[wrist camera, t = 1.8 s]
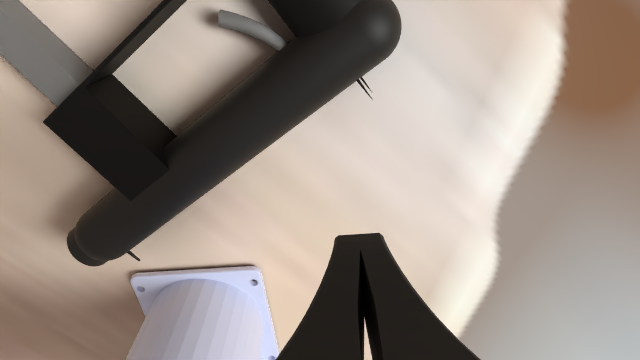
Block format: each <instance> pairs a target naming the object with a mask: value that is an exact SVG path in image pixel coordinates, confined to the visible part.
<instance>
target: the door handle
mask: <svg viewBox="0 0 640 360" xmlns="http://www.w3.org/2000/svg"><path fill="white" fill-rule="evenodd" d="M186 1H187V0H163V1H162V2H161V3H160V4H159V5H158V6H157V7H156V8H155V9H154V10H153V12H152V13H151V14H150V15H149V16H148V17H147V18H146V19H145V20H144V21H143V22H142V23H141V24H140V25H139V26H138V27H137V28H136V29H135V30H134V31H133V32H132V33H131V34H130V35H129V36H128V37H127V38H126V39H125V40H124V41H123V42H122V43H121V44H120V45H119V46H118V47H117V48H116V49H115V50H114V51H113V52H112V53H111V54H110V55H109V56H108V57H107V58H106V59H105V60H104V61H103V62H102V63H101V64H100V65H99V66H98V67H97V68H96V69H95V70H94V71H93V70H92V69H91V68H90V67H89V66H88V65H87V64H86V63H85V62H84V61H83V60H82V59H81V58H79V57H78V56H77V55H76V54H75V53H74V52H73V51H72V50H71V49H70V48H69V47H68V46H67V45H66V44H65V43H64V42H62V41H61V40H60V39H59V38H58V37H57V36H56V35H55V34H54V33H53V32H52V31H51V30H50V29H49V28H48V27H47V26H46V25H44V24H43V23H42V22H41V21H40V20H39V19H38V18H37V17H36V16H35V15H34V14H33V13H32V12H31V11H30V10H29V9H28V8H26V7H25V6H24V5H23V4H22V3H21V2H20V1H19V0H0V55H1V56H3V57H4V58H5V59H6V60H7V61H8V62H9V63H10V64H11V65H12V66H13V67H14V68H15V69H17V70H18V71H19V72H20V73H21V74H22V75H23V76H24V77H25V78H26V79H27V80H28V81H29V82H31V83H32V84H33V85H34V86H35V87H36V88H37V89H38V90H39V91H40V92H41V93H42V94H43V95H45V96H46V97H47V98H48V99H49V100H50V101H51V102H52V103H53V104H54V105H55V106H56V107H57V108H56V109H55V110H54V111H53V112H52V113H51V114H50V115H49V116H48V117H47V118H46V119H45V120H44V121H43V123H44V124H46V125H47V126H48V127H49V128H50V129H51V130H52V131H53V132H54V133H55V134H57V135H58V136H59V137H60V138H61V139H62V140H63V141H64V142H65V143H67V144H68V145H69V146H70V147H71V148H72V149H73V150H74V151H75V152H77V153H78V154H79V155H80V156H81V157H82V158H83V159H84V160H85V161H87V162H88V163H89V164H90V165H91V166H92V167H93V168H94V169H95V170H97V171H98V172H99V173H100V174H101V175H102V176H103V177H104V178H105V179H107V180H108V181H109V182H110V183H111V184H112V185H113V186H114V187H115V189H113V190H112V191H111V192H110V193H109V194H108V195H106V196H105V197H104V198H103V199H102V200H100V201H99V202H98V203H97V204H96V205H94V206H93V207H92V208H91V209H90V210H88V211H87V212H86V213H85V214H84V215H83V216H82V217H81V218H80V219H79V221H78V223H77V225H76V227H75V228H74V229H72V230H71V231H70V233H69V234H68V237H67V245H68V249H69V251H70V253H71V254H72V255H73V257H74V258H75V259H77V260H78V261H79V262H81V263H83V264H85V265H88V266H100V265H103V264H104V263H106V262H107V261H109V260H113V259H116V258H119V257H121V256H122V255H124V254H125V253H128V254H130V255H131V256H132V257H134V258H135V259H137V260H138V261H140V259H139V258H138V257H137V256H135V255H134V254H133V253H132V252H131V251H130V250H131V249H132V248H133V247H135V246H136V245H137V244H139V243H140V242H141V241H143V240H144V239H145V238H147V237H148V236H149V235H151V234H152V233H153V232H155V231H156V230H157V229H159V228H160V227H161V226H163V225H164V224H165V223H167V222H168V221H169V220H171V219H172V218H173V217H175V216H176V215H177V214H179V213H180V212H181V211H183V210H184V209H185V208H187V207H188V206H189V205H191V204H192V203H193V202H195V201H196V200H197V199H199V198H200V197H201V196H203V195H204V194H205V193H207V192H208V191H209V190H211V189H212V188H213V187H215V186H216V185H217V184H219V183H220V182H222V181H223V180H224V179H226V178H227V177H228V176H230V175H231V174H232V173H234V172H235V171H236V170H238V169H239V168H240V167H242V166H243V165H244V164H246V163H247V162H248V161H250V160H251V159H252V158H254V157H255V156H256V155H258V154H259V153H260V152H262V151H263V150H264V149H266V148H267V147H268V146H270V145H271V144H272V143H274V142H275V141H276V140H278V139H279V138H280V137H282V136H283V135H284V134H286V133H287V132H288V131H290V130H291V129H292V128H294V127H295V126H296V125H298V124H299V123H300V122H302V121H303V120H304V119H306V118H307V117H308V116H310V115H311V114H312V113H314V112H315V111H316V110H318V109H319V108H320V107H322V106H323V105H324V104H326V103H327V102H329V101H330V100H331V99H333V98H334V97H335V96H337V95H338V94H339V93H341V92H342V91H343V90H345V89H346V88H347V87H349V86H350V85H351V84H353V83H354V82H355V81H357V82H358V83H359V84H360V86H361V87H362V88H363V89H364V90H365V92H366V93H367V94H368V92H367V91H366V89H365V88H364V86H363V85H362V83H361V82H360V80H359V78H360V79H361V80H362V81H363V82H364V83H365V85H366V86H367V87H368V85H367V84H366V82H365V81H364V79H363V78H362V76H363V75H365V74H366V73H367V72H369V71H370V70H371V69H373V68H374V67H375V66H377V65H378V64H379V63H381V62H382V61H383V60H385V59H386V58H387V57H388V56H389V55H390V54H391V53H392V52H393V51H394V49H395V48H396V46H397V44H398V41H399V39H400V35H401V18H400V14H399V11H398V9H397V7H396V5H395V4H394V3H393V1H392V0H268V1H269V3H270V4H271V5H272V6H273V8H274V9H275V10H276V12H277V13H278V14H279V16H280V17H281V18H282V19H283V21H284V22H285V23H286V25H287V26H288V27H289V28H290V30H291V31H292V32H293V34H294V35H295V36H296V37H295V38H294V39H292V40H291V41H290V42H289V43H287V42H286V41H285V40H284V39H283V38H282V37H280V36H279V35H278V34H277V33H275V32H274V31H272V30H271V29H269V28H268V27H266V26H264V25H262V24H261V23H259V22H257V21H254V20H252V19H250V18H247V17H245V16H242V15H239V14H236V13H232V12H228V11H224V10H220V12H219V16H218V25H219V27H224V28H228V29H232V30H236V31H239V32H242V33H245V34H247V35H250V36H252V37H255V38H257V39H259V40H261V41H263V42H265V43H266V44H268V45H270V46H271V47H273V48H274V49H275V50H277V51H278V52H277V53H276V54H274V55H273V56H272V57H271V58H270V59H269V60H267V61H266V62H265V63H264V64H263V65H261V66H260V67H259V68H258V69H257V70H255V71H254V72H253V73H252V74H251V75H249V76H248V77H247V78H246V79H245V80H243V81H242V82H241V83H240V84H239V85H238V86H236V87H235V88H234V89H233V90H232V91H230V92H229V93H228V94H227V95H226V96H224V97H223V98H222V99H221V100H220V101H218V102H217V103H216V104H215V105H214V106H212V107H211V108H210V109H209V110H208V111H207V112H205V113H204V114H203V115H202V116H201V117H199V118H198V119H197V120H196V121H195V122H193V123H192V124H191V125H190V126H189V127H187V128H186V129H185V130H184V131H183V132H181V133H180V134H179V135H178V136H176V135H175V134H174V133H173V132H172V131H171V130H170V129H169V128H168V127H167V126H166V125H165V124H164V123H162V122H161V121H160V120H159V119H158V118H157V117H156V116H155V115H154V114H153V113H152V112H151V111H150V110H149V109H148V108H147V107H146V106H145V105H144V104H143V103H142V102H141V101H140V100H139V99H137V98H136V97H135V96H134V95H133V94H132V93H131V92H130V91H129V90H128V89H127V88H126V87H125V86H124V85H123V84H122V83H121V82H120V81H119V80H118V79H117V78H116V77H115V76H113V75H112V73H113V72H115V71H116V70H117V69H118V68H119V67H120V66H121V65H122V64H123V63H124V62H125V61H126V60H127V59H128V58H129V57H130V56H131V55H132V54H133V53H134V52H135V51H136V50H137V49H138V48H139V47H140V46H141V45H142V44H143V43H144V42H145V41H146V40H147V39H148V38H149V37H150V36H151V35H152V34H153V33H154V32H155V31H156V30H157V29H158V28H159V27H160V26H161V25H162V24H163V23H164V22H165V21H166V20H167V19H168V18H169V17H170V16H171V15H172V14H173V13H174V12H175V11H176V10H177V9H178V8H179V7H180V6H181V5H183V4H184V3H185V2H186ZM368 88H369V87H368ZM369 89H370V88H369ZM370 91H371V90H370ZM371 92H372V91H371ZM368 95H369V94H368ZM369 96H370V95H369ZM370 98H371V97H370ZM371 99H372V98H371Z"/></svg>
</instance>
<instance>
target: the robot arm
mask: <svg viewBox="0 0 640 360" xmlns="http://www.w3.org/2000/svg"><path fill="white" fill-rule="evenodd" d="M252 279H254V280H257V281H252ZM130 282H131V285H132V287H133V290H134V292H135V294H136V296H137V299H138V301H139V303H140V306H141V308H142V310H143V312H144V315H145V317H146V318H145V320H144V322H143V324H142V326H141V328H140V330H139V332H138V334H137V336H136V338H135V340H134V342H133V345H132V347H131V349H130V351H129V353H128V355H127V357H126V359H125V360H364V317H365V322H366V328H367V333H368V338H369V344H370V349H371V354H372V360H480V359H479V358H478V357H477V356H476V355H475V354H474V353H473V352H471V351H470V350H469V349H468V348H467V347H466V346H465V345H464V344H463V343H462V342H460V341H459V340H458V339H457V338H456V336H455V335H454V334H453V333H452V332H451V331H450V330H449V329H448V328H447V327H446V326H445V325H444V324H443V323H442V322H441V321H440V320H439V319H438V318H437V316H436V315H435V314H434V313H433V312H432V311H431V310H430V308H429V307H428V306H427V305H426V303H425V302H424V301H423V300H422V298H421V297H420V296H419V295H418V293H417V292H416V291H415V289H414V288H413V287H412V285H411V284H410V282H409V281H408V279H407V278H406V276H405V275H404V274H403V272H402V271H401V269H400V267H399V266H398V264H397V263H396V261H395V259H394V258H393V256H392V254H391V252H390V250H389V248H388V246H387V244H386V242H385V240H384V237H383V236H382V235H381V234H380V233H370V234H355V235H339V236H337V237H336V238H335V241H334V247H333V251H332V255H331V258H330V261H329V264H328V267H327V269H326V272H325V274H324V277H323V279H322V282H321V284H320V286H319V288H318V290H317V292H316V295H315V297H314V299H313V301H312V303H311V305H310V307H309V308H308V310H307V312H306V314H305V316H304V317H303V319H302V321H301V323H300V324H299V326H298V327H297V329H296V331H295V332H294V334H293V335H292V337H291V338H290V340H289V341H288V343H287V344H286V345H285V347H284V348H283V350H282V351H281V353H280V354H279V349H278V345H277V340H276V336H275V331H274V327H273V322H272V318H271V313H270V309H269V304H268V300H267V295H266V291H265V286H264V282H263V277H262V273H261V270H260V269H259V268H258V267H255V266H244V267H228V268H211V269H195V270H178V271H161V272H145V273H135V274H134V275H133V276H132V278H131V280H130ZM141 286H142V287H141Z"/></svg>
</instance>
